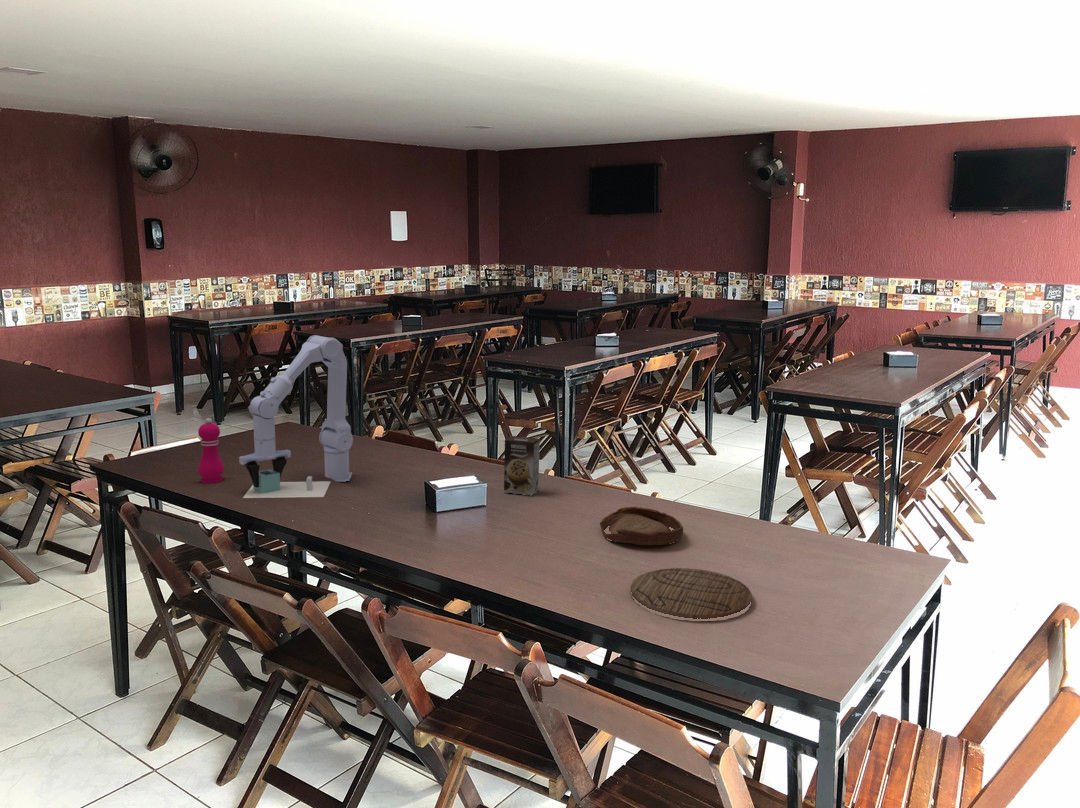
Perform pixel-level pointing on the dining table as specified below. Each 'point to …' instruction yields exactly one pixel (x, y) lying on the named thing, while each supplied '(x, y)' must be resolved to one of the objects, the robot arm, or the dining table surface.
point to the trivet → (691, 593)
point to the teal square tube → (268, 481)
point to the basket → (641, 526)
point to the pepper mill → (210, 453)
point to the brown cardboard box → (521, 465)
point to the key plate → (293, 490)
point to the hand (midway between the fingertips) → (266, 484)
